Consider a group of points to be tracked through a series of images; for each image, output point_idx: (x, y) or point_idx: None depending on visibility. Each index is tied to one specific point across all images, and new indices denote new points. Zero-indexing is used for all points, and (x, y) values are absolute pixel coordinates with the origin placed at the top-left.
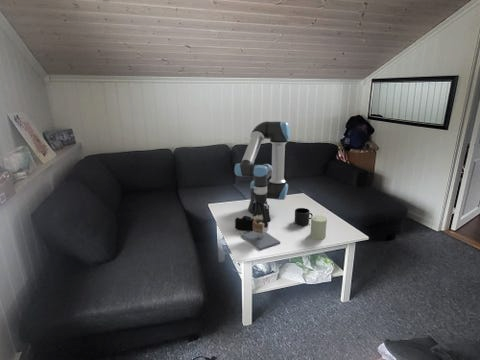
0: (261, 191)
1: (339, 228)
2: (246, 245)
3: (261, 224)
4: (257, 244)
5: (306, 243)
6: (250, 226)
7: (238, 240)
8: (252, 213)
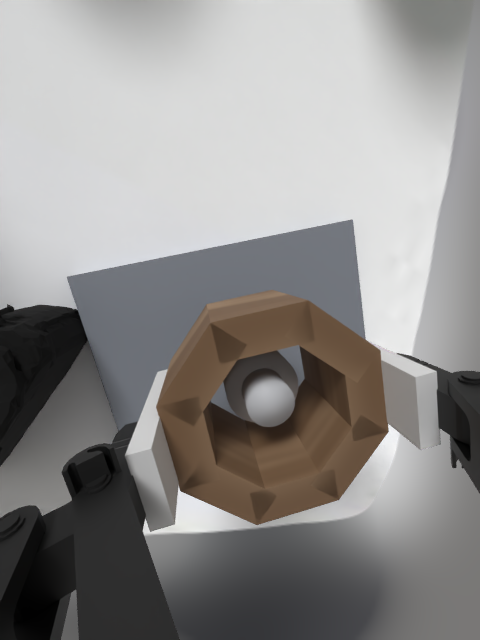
0: None
1: None
2: None
3: (373, 433)
4: None
5: (431, 12)
6: (47, 384)
7: None
8: (69, 592)
